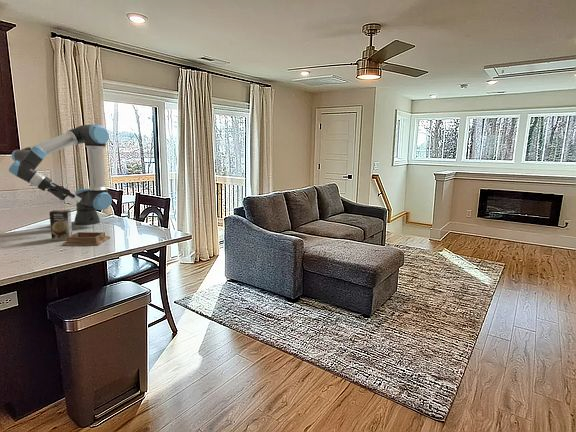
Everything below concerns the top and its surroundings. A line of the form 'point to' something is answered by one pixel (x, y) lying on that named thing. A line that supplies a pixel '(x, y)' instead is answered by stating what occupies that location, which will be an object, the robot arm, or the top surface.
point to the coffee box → (60, 224)
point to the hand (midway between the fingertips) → (78, 202)
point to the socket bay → (87, 238)
